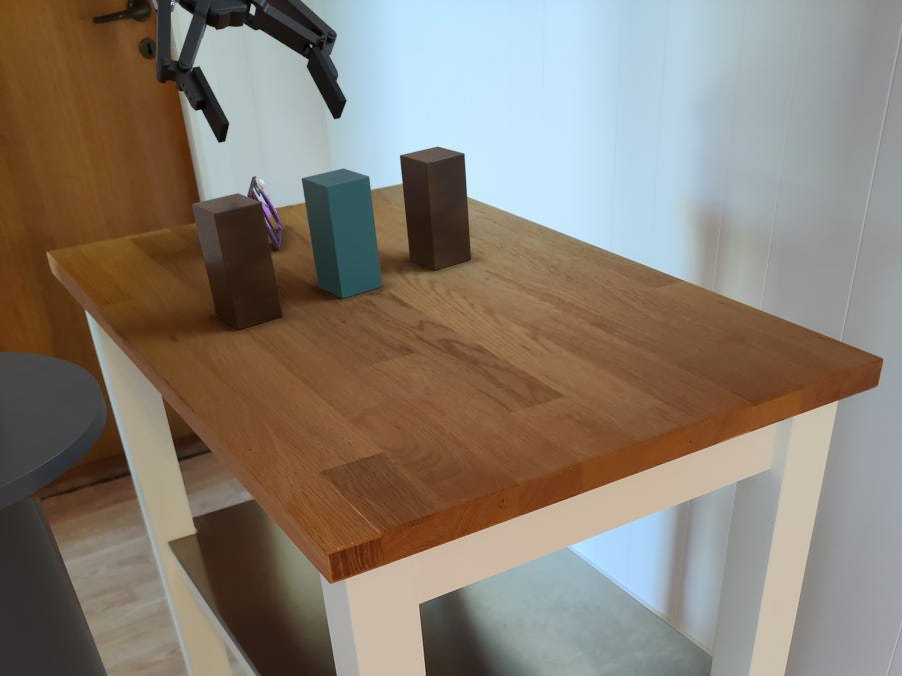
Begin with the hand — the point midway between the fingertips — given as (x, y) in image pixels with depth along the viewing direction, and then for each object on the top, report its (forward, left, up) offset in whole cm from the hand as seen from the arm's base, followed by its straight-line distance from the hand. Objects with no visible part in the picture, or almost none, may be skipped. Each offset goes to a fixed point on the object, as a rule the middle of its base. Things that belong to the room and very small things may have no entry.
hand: (284, 121), depth 103 cm
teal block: (+5, -7, -15) cm, 17 cm away
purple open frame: (-7, +12, -15) cm, 20 cm away
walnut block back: (+15, 0, -15) cm, 21 cm away
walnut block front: (-5, -14, -15) cm, 21 cm away
